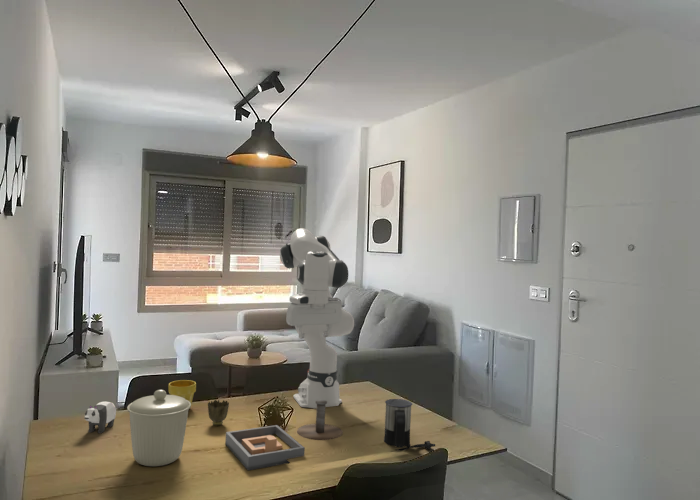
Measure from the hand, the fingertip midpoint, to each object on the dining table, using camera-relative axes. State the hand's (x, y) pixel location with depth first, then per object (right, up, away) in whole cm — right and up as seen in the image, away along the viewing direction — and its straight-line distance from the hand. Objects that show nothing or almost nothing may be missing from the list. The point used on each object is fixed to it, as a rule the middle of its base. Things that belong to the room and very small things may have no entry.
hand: (313, 337), depth 189 cm
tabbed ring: (-15, -33, -16) cm, 39 cm away
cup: (-35, -33, +7) cm, 48 cm away
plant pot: (-53, -32, +23) cm, 66 cm away
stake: (+2, -34, 0) cm, 34 cm away
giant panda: (-73, -31, -4) cm, 79 cm away
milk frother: (+32, -36, -7) cm, 49 cm away
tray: (-15, -34, -16) cm, 40 cm away
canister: (-45, -33, -26) cm, 61 cm away
